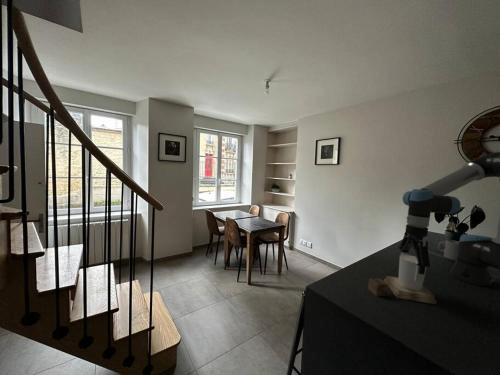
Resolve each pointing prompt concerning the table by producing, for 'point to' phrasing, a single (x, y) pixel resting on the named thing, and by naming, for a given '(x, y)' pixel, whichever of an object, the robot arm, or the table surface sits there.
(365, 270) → the table surface
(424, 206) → the robot arm
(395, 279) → the stand
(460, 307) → the table surface
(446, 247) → the mug
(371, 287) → the walnut block
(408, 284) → the candle holder
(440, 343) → the table surface
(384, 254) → the table surface
